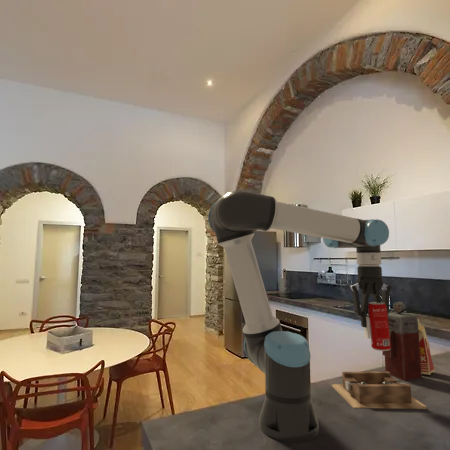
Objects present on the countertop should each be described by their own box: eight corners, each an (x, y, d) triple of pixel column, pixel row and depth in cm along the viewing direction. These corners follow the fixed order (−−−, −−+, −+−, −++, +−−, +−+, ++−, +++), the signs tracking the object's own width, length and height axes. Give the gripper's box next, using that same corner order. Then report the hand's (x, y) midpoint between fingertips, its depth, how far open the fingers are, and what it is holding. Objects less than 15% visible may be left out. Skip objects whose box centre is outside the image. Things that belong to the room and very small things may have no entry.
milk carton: (410, 365, 139) (407, 317, 141) (435, 370, 132) (432, 320, 134) (403, 370, 132) (400, 320, 134) (429, 376, 126) (426, 323, 128)
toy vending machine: (380, 373, 128) (377, 301, 131) (401, 370, 132) (397, 300, 135) (399, 381, 120) (395, 304, 123) (421, 377, 124) (417, 302, 127)
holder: (353, 411, 96) (352, 389, 97) (331, 387, 114) (331, 369, 115) (426, 410, 97) (425, 388, 97) (393, 387, 114) (392, 369, 115)
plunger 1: (348, 391, 104) (348, 383, 104) (345, 388, 106) (345, 380, 107) (369, 390, 104) (369, 383, 105) (366, 388, 107) (365, 380, 107)
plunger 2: (384, 390, 104) (383, 382, 105) (380, 387, 107) (380, 380, 107) (405, 390, 105) (404, 382, 105) (400, 387, 107) (400, 380, 107)
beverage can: (394, 349, 106) (391, 302, 107) (384, 352, 102) (381, 303, 103) (376, 345, 110) (373, 300, 112) (366, 348, 106) (364, 302, 108)
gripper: (350, 265, 106) (353, 340, 103) (398, 265, 106) (403, 339, 104) (341, 265, 113) (344, 334, 111) (386, 265, 114) (390, 334, 111)
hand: (372, 337), depth 107 cm, fingers closed on beverage can, 3 cm apart
